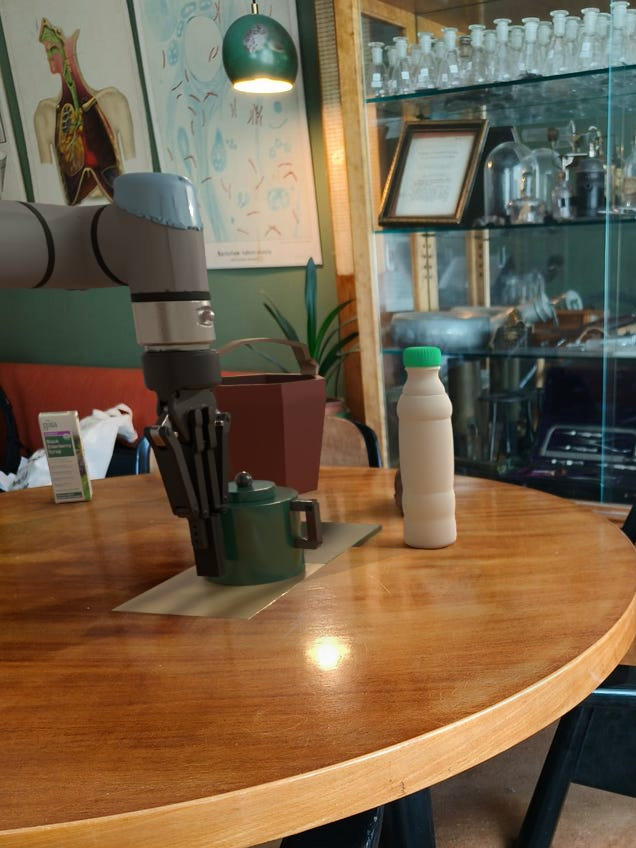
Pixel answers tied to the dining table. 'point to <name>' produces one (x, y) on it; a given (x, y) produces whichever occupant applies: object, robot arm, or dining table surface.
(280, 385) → the bucket
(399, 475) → the perforated stone tool
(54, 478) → the syrup box
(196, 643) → the dining table surface
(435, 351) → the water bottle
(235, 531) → the kettle
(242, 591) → the board
